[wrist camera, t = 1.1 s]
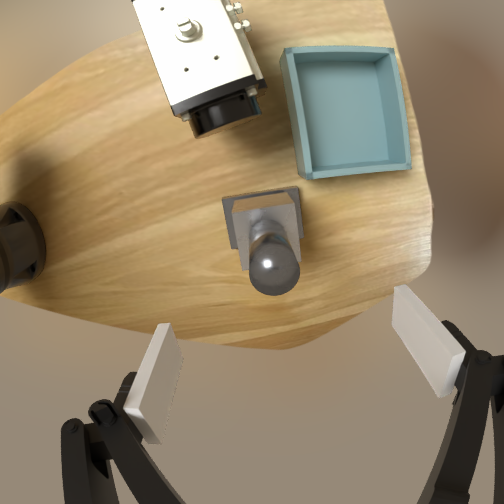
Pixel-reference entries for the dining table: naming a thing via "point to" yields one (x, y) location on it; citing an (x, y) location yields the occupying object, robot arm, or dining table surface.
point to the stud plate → (229, 200)
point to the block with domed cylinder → (268, 241)
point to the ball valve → (203, 61)
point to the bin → (345, 110)
